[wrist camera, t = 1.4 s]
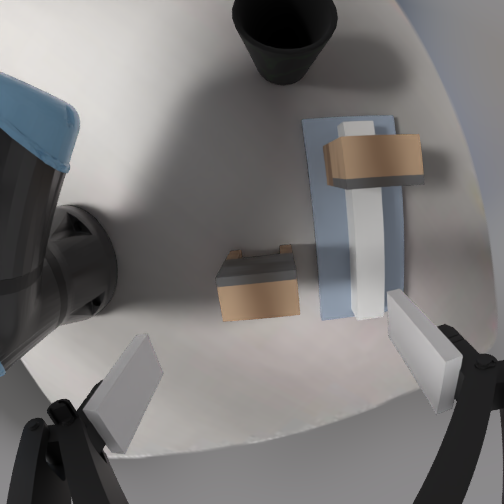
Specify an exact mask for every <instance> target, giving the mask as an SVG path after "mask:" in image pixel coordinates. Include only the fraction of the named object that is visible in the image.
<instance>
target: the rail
mask: <svg viewBox="0 0 504 504" xmlns="http://www.w3.org/2000/svg"><path fill="white" fill-rule="evenodd" d="M301 122H302V129H303V136H304V143H305V150H306V158H307V166H308V174H309V182H310V191H311V200H312V210H313V220H314V230H315V241H316V253H317V266H318V280H319V296H320V313H321V320H322V321H323V320H331V319H338V318H346V317H353V316H355V317H356V319H357V321H359V320H365V319H372V318H378V317H384V312H386V311H388V307H387V292H388V291H392V290H396V289H401V290H402V291H404V219H403V200H402V186H391V187H377V188H364V189H352V190H346V189H342V188H338V187H334V186H330V185H327V177H326V169H325V161H324V153H323V146H324V145H326V144H328V143H330V142H332V141H334V140H335V139H337V138H339V137H343V136H362V135H396V131H395V124H394V118H393V115H380V116H345V117H327V118H313V119H302V121H301Z"/></svg>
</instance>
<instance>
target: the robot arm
mask: <svg viewBox="0 0 504 504" xmlns="http://www.w3.org/2000/svg"><path fill="white" fill-rule="evenodd" d="M79 129H80V118H79V115H78V113H77V111H76V110H75V108H74V107H73V106H72V105H70V104H68V103H67V102H65V101H63V100H61V99H59V98H57V97H55V96H53V95H51V94H49V93H47V92H45V91H42V90H40V89H38V88H36V87H34V86H32V85H30V84H27V83H25V82H23V81H21V80H18V79H16V78H14V77H12V76H9V75H7V74H5V73H2V72H0V377H1V376H3V375H4V374H6V373H5V371H6V370H8V369H9V368H10V367H11V366H12V365H13V364H14V363H15V362H17V361H18V360H19V359H20V358H21V357H22V356H24V355H25V354H26V353H27V352H28V351H29V350H31V349H32V348H33V347H34V346H35V345H36V344H38V343H39V342H40V341H41V340H42V339H44V338H45V337H46V336H47V335H48V334H50V333H51V332H52V331H53V330H54V329H56V328H57V327H58V326H60V325H65V324H69V323H74V322H78V321H83V320H86V319H89V318H91V317H93V316H94V315H96V314H97V313H98V312H99V311H100V310H102V309H103V308H104V307H105V306H106V305H107V304H108V302H109V301H110V299H111V298H112V296H113V293H114V291H115V287H116V282H117V263H116V257H115V253H114V250H113V247H112V244H111V242H110V239H109V237H108V236H107V234H106V232H105V230H104V229H103V227H102V226H101V225H100V224H99V222H98V221H97V220H96V219H95V218H94V217H93V216H91V215H90V214H89V213H88V212H86V211H84V210H82V209H80V208H78V207H75V206H69V205H63V206H58V207H56V206H57V202H58V198H59V195H60V191H61V188H62V184H63V181H64V178H65V175H66V173H68V171H69V170H70V164H69V162H70V159H71V155H72V152H73V149H74V145H75V142H76V139H77V136H78V133H79ZM387 307H388V336H389V338H390V340H391V341H392V343H393V344H394V346H395V347H396V349H397V351H398V352H399V354H400V355H401V357H402V358H403V360H404V362H405V363H406V365H407V367H408V368H409V370H410V371H411V373H412V375H413V376H414V378H415V380H416V381H417V383H418V385H419V386H420V388H421V389H422V391H423V393H424V394H425V396H426V398H427V399H428V401H429V403H430V405H431V407H432V408H433V410H434V412H435V413H436V415H437V414H440V413H442V412H445V411H447V410H450V409H452V407H453V403H454V399H456V401H457V403H456V406H455V409H454V412H453V415H452V418H451V421H450V423H449V426H448V429H447V431H446V434H445V436H444V439H443V441H442V444H441V446H440V449H439V451H438V454H437V456H436V458H435V460H434V462H433V465H432V467H431V469H430V471H429V473H428V475H427V477H426V479H425V481H424V483H423V485H422V488H421V489H420V491H419V493H418V495H417V497H416V499H415V500H414V502H413V504H462V502H463V500H464V498H465V495H466V492H467V490H468V487H469V484H470V481H471V479H472V476H473V473H474V471H475V468H476V464H477V461H478V458H479V455H480V452H481V448H482V445H483V441H484V437H485V434H486V430H487V425H488V421H489V417H490V412H491V411H492V410H498V409H500V416H501V427H502V443H503V493H502V504H504V360H503V361H497V359H496V358H495V357H493V356H491V355H489V354H479V353H478V352H477V351H476V350H475V349H474V348H473V347H472V346H471V345H470V344H469V343H468V342H467V341H466V340H464V338H463V337H462V336H461V335H460V334H459V333H458V332H457V331H456V330H455V329H454V328H453V327H451V326H448V325H446V324H444V325H441V326H438V327H437V326H436V325H435V324H434V323H433V322H432V321H431V320H430V319H429V318H428V317H427V316H426V315H425V314H424V313H423V312H422V311H421V310H420V309H419V308H418V307H417V306H416V304H415V303H414V302H413V301H412V300H411V299H410V298H409V297H408V296H407V295H406V294H405V293H404V292H403V291H402V290H401V289H396V290H392V291H388V292H387ZM163 374H164V372H163V370H162V368H161V365H160V363H159V361H158V358H157V356H156V353H155V351H154V348H153V346H152V343H151V341H150V338H149V336H148V334H142V335H136V336H135V338H134V339H133V340H132V342H131V343H130V344H129V346H128V347H127V348H126V350H125V351H124V352H123V354H122V355H121V357H120V358H119V359H118V361H117V362H116V363H115V365H114V366H113V368H112V369H111V370H110V372H109V373H108V374H107V376H106V377H105V379H104V380H101V381H100V382H99V383H98V384H96V385H95V386H94V387H93V389H92V390H91V392H90V393H89V394H88V396H87V398H86V399H85V400H84V401H83V403H82V404H81V406H80V407H79V408H78V410H77V411H76V410H75V408H74V407H73V405H72V404H71V402H70V400H68V399H61V400H57V401H55V402H54V403H52V404H51V405H50V406H49V408H48V409H47V413H48V414H49V416H50V418H51V419H52V421H53V422H54V424H55V425H48V426H47V424H46V423H45V421H44V420H43V419H42V418H35V419H31V420H30V421H28V423H27V424H26V425H25V427H24V429H23V433H22V436H21V440H20V443H19V448H18V451H17V455H16V460H15V463H14V468H13V472H12V477H11V483H10V487H9V493H8V499H7V504H71V497H72V501H73V504H129V503H128V501H127V499H126V497H125V495H124V493H123V491H122V489H121V487H120V485H119V483H118V481H117V478H116V476H115V474H114V472H113V469H112V467H111V465H110V463H109V460H108V458H107V455H106V454H105V452H104V451H103V448H104V446H105V444H106V446H107V447H108V448H109V450H110V451H111V452H112V453H119V454H125V453H126V451H127V449H128V447H129V445H130V443H131V440H132V438H133V436H134V434H135V432H136V430H137V428H138V426H139V423H140V421H141V419H142V417H143V415H144V413H145V411H146V409H147V407H148V405H149V402H150V400H151V398H152V396H153V394H154V392H155V390H156V388H157V386H158V384H159V382H160V380H161V378H162V376H163Z"/></svg>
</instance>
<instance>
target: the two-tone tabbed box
mask: <svg viewBox="0 0 504 504" xmlns="http://www.w3.org/2000/svg"><path fill="white" fill-rule="evenodd" d="M215 279H216V285H217V290H218V296H219V302H220V307H221V312H222V318H223V322H225V321H238V320H250V319H262V318H272V317H283V316H292V315H300V307H299V296H298V284H297V273H296V267H295V262H294V257H293V252H292V248H291V244H290V245H281V246H280V254H275V255H266V256H257V257H248V258H242V252H241V250H236V251H230V253H229V254H228V256H227V258H226V260H225V262H224V263H223V265H222V267H221V269H220V271H219V272H218V274H217V276H216V278H215Z"/></svg>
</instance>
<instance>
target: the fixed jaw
mask: <svg viewBox="0 0 504 504" xmlns="http://www.w3.org/2000/svg"><path fill="white" fill-rule="evenodd" d="M323 153H324V161H325V169H326V177H327V185H330V186H334V187H338V188H342V189H346V190H352V189H364V188H377V187H391V186H407V185H424V172H423V162H422V152H421V144H420V136H419V134H396V135H362V136H343V137H339V138H337V139H335V140H334V141H332V142H330V143H328V144H326V145H324V146H323Z"/></svg>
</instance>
